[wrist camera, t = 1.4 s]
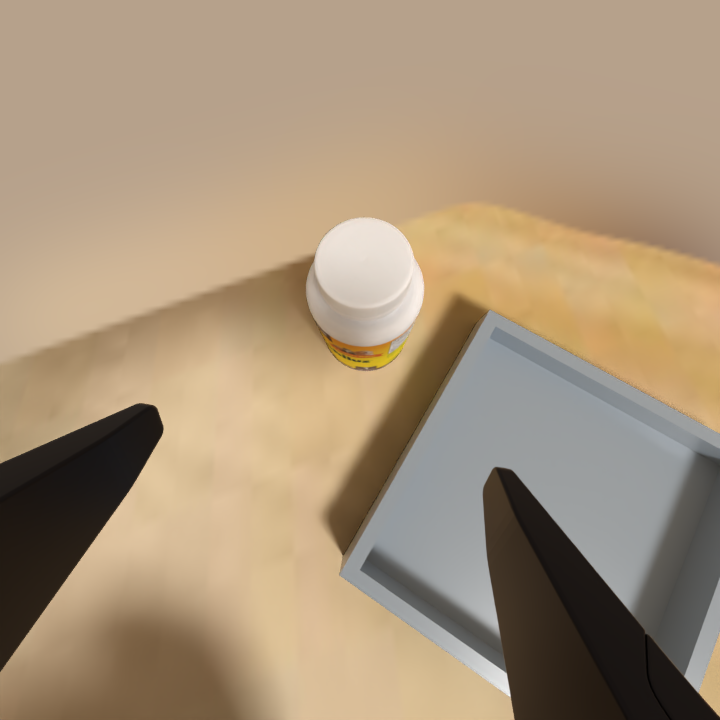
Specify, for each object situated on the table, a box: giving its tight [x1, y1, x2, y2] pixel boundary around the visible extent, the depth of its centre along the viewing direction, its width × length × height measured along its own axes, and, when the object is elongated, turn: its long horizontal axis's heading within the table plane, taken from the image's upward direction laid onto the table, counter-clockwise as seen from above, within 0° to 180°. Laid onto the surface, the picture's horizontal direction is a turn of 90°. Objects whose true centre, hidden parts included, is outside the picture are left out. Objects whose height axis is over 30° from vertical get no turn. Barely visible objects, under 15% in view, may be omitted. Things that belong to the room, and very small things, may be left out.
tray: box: [339, 310, 720, 697], centre depth 18 cm, size 18×18×2 cm
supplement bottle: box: [306, 217, 424, 371], centre depth 17 cm, size 6×6×10 cm
